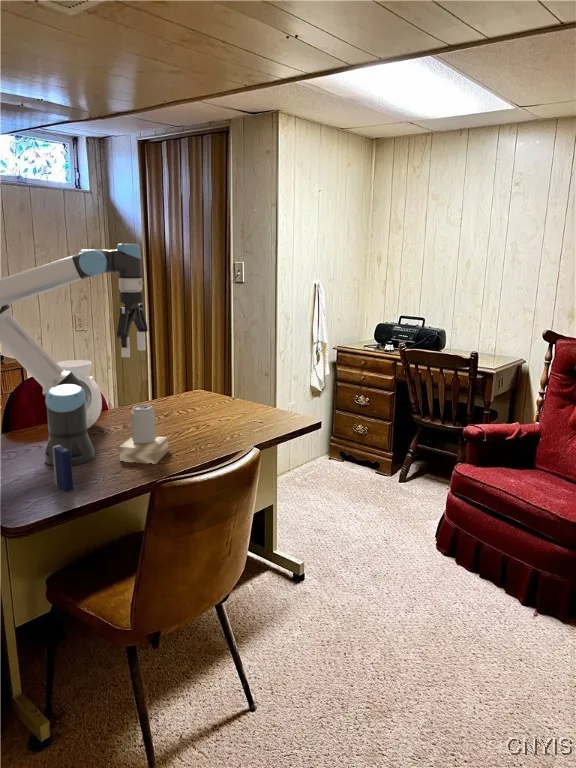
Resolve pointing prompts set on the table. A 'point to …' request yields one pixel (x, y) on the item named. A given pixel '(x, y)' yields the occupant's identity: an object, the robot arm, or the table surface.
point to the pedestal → (143, 451)
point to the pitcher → (82, 372)
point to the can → (143, 424)
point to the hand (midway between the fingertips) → (134, 353)
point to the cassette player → (62, 468)
